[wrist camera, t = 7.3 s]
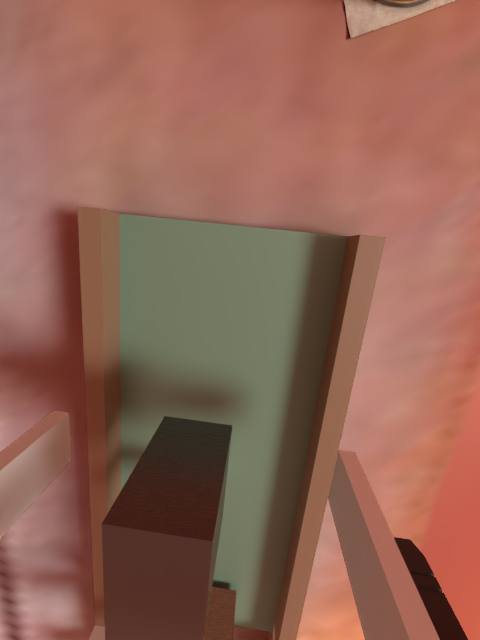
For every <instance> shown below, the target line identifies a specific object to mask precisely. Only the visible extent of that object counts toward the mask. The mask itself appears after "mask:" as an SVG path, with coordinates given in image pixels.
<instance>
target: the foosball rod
mask: <svg viewBox="0 0 480 640" xmlns="http://www.w3.org/2000/svg"><path fill="white" fill-rule="evenodd" d="M232 426H233V425H226V424H219V423H211V422H204V421H197V420H190V419H182V418H175V417H168V416H164V418H163V420H162V421H161V423H160V425H159V427H158V428H157V430H156V432H155V433H154V435H153V437H152V439H151V440H150V442H149V444H148V445H147V447H146V449H145V451H144V452H143V454H142V456H141V457H140V459H139V461H138V463H137V464H136V466H135V468H134V469H133V471H132V473H131V474H130V476H129V478H128V480H127V481H126V483H125V485H124V486H123V488H122V490H121V492H120V493H119V495H118V497H117V498H116V500H115V502H114V504H113V505H112V507H111V509H110V510H109V512H108V514H107V516H106V517H105V519H104V521H103V522H102V553H103V587H104V621H105V640H233V631H234V618H235V605H236V592H237V590H231V589H225V588H219V587H213V586H212V585H213V578H214V571H215V565H216V558H217V551H218V545H219V538H220V531H221V524H222V518H223V509H224V500H225V491H226V481H227V472H228V463H229V454H230V444H231V435H232Z"/></svg>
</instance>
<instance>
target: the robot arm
mask: <svg viewBox="0 0 480 640" xmlns="http://www.w3.org/2000/svg"><path fill="white" fill-rule="evenodd" d="M71 460H72V455H71V439H70V422H69V413H68V412H61V411H53V412H52V413H50V414H49V415H48V416H46V417H45V418H44V419H43V420H41V421H40V422H39V423H37V424H36V425H35V426H34V427H32V428H31V429H30V430H28V431H27V432H26V433H25V434H23V435H22V436H21V437H19V438H18V439H17V440H16V441H14V442H13V443H12V444H10V445H9V446H8V447H7V448H5V449H4V450H3V451H1V452H0V538H1V537H2V536H3V535H4V534H5V533H6V532H7V531H8V530H9V529H10V527H11V526H12V525H13V524H14V523H15V522H16V521H17V520H18V519H19V517H20V516H21V515H22V514H23V513H24V512H25V511H26V510H27V509H28V507H29V506H30V505H31V504H32V503H33V502H34V501H35V500H36V499H37V498H38V496H39V495H40V494H41V493H42V492H43V491H44V490H45V489H46V488H47V486H48V485H49V484H50V483H51V482H52V481H53V480H54V479H55V478H56V477H57V475H58V474H59V473H60V472H61V471H62V470H63V469H64V468H65V467H66V465H67V464H68V463H69V462H70V461H71ZM328 499H329V503H330V507H331V511H332V515H333V519H334V522H335V526H336V530H337V534H338V538H339V541H340V545H341V549H342V553H343V557H344V561H345V564H346V568H347V572H348V576H349V580H350V583H351V587H352V591H353V595H354V599H355V603H356V606H357V610H358V614H359V618H360V622H361V626H362V629H363V633H364V637H365V640H468V639H467V637H466V635H465V633H464V631H463V629H462V627H461V625H460V623H459V621H458V619H457V618H456V616H455V614H454V612H453V610H452V608H451V606H450V604H449V603H448V601H447V598H446V597H445V595H444V593H442V589H441V587H440V585H439V583H438V581H437V580H436V578H435V577H434V574H433V572H432V570H431V568H430V566H429V565H428V562H427V561H426V558H425V557H424V555H423V554H422V553H421V552H420V551H419V549H418V548H417V547H416V546H415V545H414V544H413V542H412V541H411V540H408V539H402V538H395V537H393V535H392V533H391V531H390V528H389V526H388V524H387V522H386V520H385V517H384V515H383V513H382V511H381V509H380V506H379V504H378V502H377V500H376V497H375V495H374V493H373V491H372V489H371V486H370V484H369V482H368V480H367V478H366V475H365V473H364V471H363V469H362V467H361V464H360V462H359V460H358V458H357V455H356V453H355V452H349V451H342V450H338V455H337V459H336V464H335V468H334V473H333V477H332V481H331V486H330V490H329V495H328Z"/></svg>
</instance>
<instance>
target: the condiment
mask: <svg viewBox="0 0 480 640" xmlns="http://www.w3.org/2000/svg"><path fill="white" fill-rule="evenodd" d="M453 1H455V0H344V4H345V9H346V17H347V24H348V29H349V34H350V37H351V38H353V37H356V36H359V35H361V34H365V33H367V32H370V31H372V30H377V29H379V28H381V27H384V26H388V25H391V24H393V23H396V22H399V21H402V20H404V19H407V18H410V17H413V16H416V15H419V14H421V13H424V12H426V11H428V10H431V9H434V8H437V7H439V6H442V5H445V4H447V3H450V2H453Z"/></svg>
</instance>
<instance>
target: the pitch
mask: <svg viewBox="0 0 480 640" xmlns="http://www.w3.org/2000/svg"><path fill="white" fill-rule="evenodd" d="M77 209H78V233H79V256H80V280H81V304H82V328H83V352H84V375H85V399H86V423H87V447H88V470H89V494H90V518H91V542H92V566H93V589H94V613H95V626H94V629H93V631H92V633H91V635H90V638H89V640H105V621H104V587H103V553H102V522H103V521H104V519H105V517H106V516H107V514H108V512H109V510H110V509H111V507H112V505H113V504H114V502H115V500H116V498H117V497H118V495H119V493H120V492H121V490H122V488H123V486H124V485H125V483H126V481H127V480H128V478H129V476H130V474H131V473H132V471H133V469H134V468H135V466H136V464H137V463H138V461H139V459H140V457H141V456H142V454H143V452H144V451H145V449H146V447H147V445H148V444H149V442H150V440H151V439H152V437H153V435H154V433H155V432H156V430H157V428H158V427H159V425H160V423H161V421H162V420H163V418H164V416H168V417H175V418H182V419H190V420H197V421H204V422H211V423H219V424H226V425H233V426H232V435H231V444H230V454H229V463H228V472H227V481H226V491H225V500H224V509H223V518H222V524H221V531H220V538H219V545H218V551H217V558H216V565H215V571H214V578H213V585H212V586H213V587H219V588H225V589H231V590H237V592H236V605H235V618H234V626H238V627H243V628H249V629H255V630H261V631H267V632H268V636H267V640H296V637H297V633H298V628H299V624H300V619H301V615H302V610H303V606H304V601H305V597H306V592H307V588H308V583H309V579H310V574H311V570H312V565H313V561H314V556H315V552H316V547H317V543H318V538H319V534H320V529H321V525H322V521H323V516H324V512H325V507H326V503H327V498H328V494H329V489H330V485H331V480H332V476H333V471H334V467H335V462H336V458H337V453H338V449H339V444H340V440H341V435H342V431H343V426H344V422H345V417H346V413H347V408H348V404H349V399H350V395H351V390H352V386H353V381H354V377H355V372H356V368H357V363H358V359H359V354H360V350H361V345H362V341H363V336H364V332H365V327H366V323H367V318H368V314H369V309H370V305H371V300H372V296H373V291H374V287H375V283H376V278H377V274H378V269H379V265H380V260H381V256H382V251H383V247H384V242H385V238H386V237H376V236H366V235H356V236H349V237H347V236H338V235H328V234H318V233H308V232H298V231H288V230H278V229H268V228H258V227H248V226H238V225H229V224H219V223H209V222H199V221H189V220H179V219H169V218H159V217H149V216H139V215H129V214H120V213H115V212H111V211H107V210H103V209H97V208H87V207H77Z"/></svg>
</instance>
